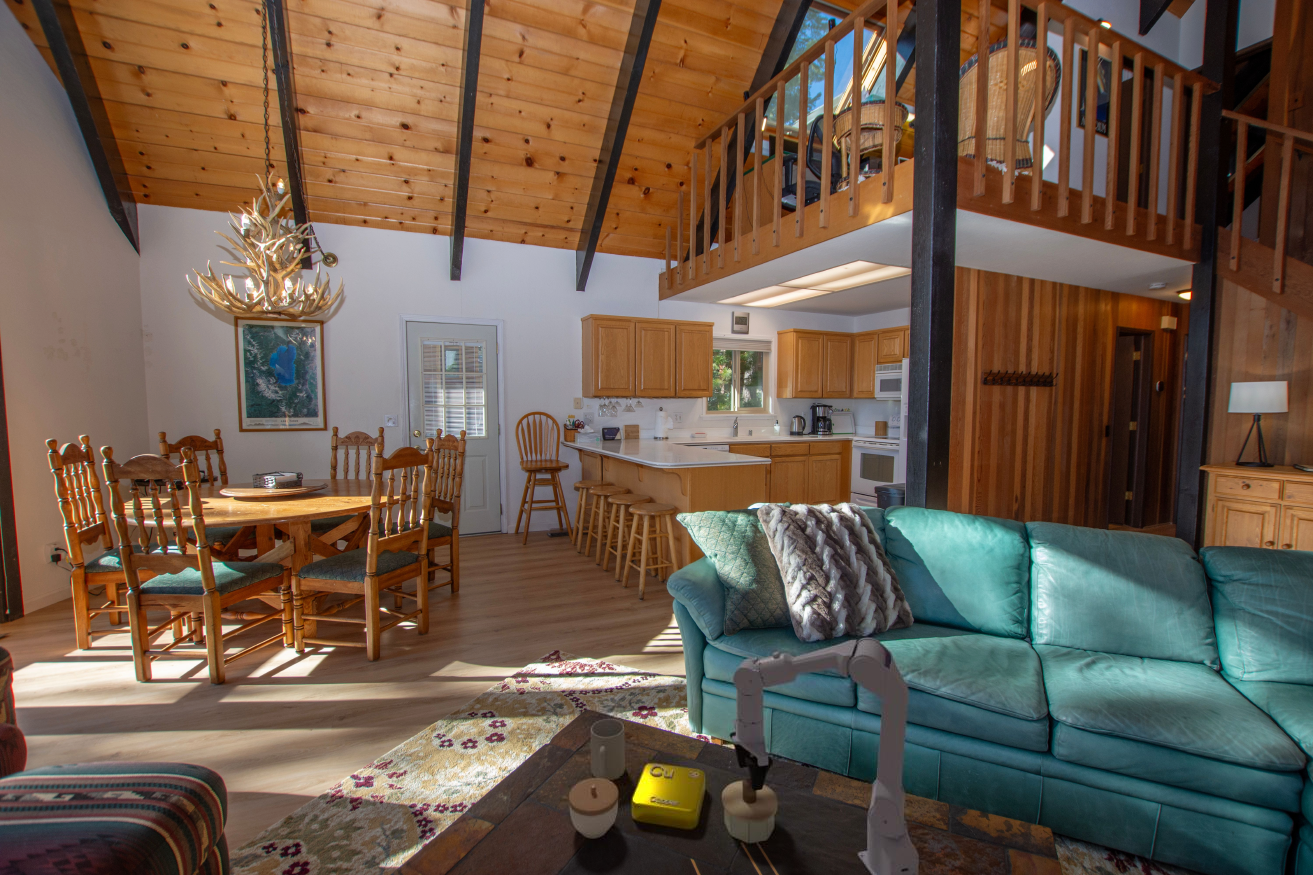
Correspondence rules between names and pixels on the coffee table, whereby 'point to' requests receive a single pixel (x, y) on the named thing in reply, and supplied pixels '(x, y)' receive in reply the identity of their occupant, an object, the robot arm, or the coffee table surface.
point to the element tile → (669, 796)
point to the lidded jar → (593, 806)
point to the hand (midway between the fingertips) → (750, 777)
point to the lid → (749, 802)
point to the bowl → (748, 829)
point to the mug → (607, 749)
